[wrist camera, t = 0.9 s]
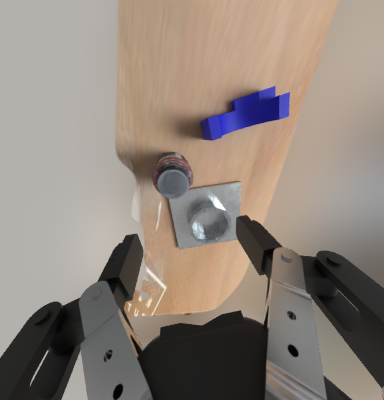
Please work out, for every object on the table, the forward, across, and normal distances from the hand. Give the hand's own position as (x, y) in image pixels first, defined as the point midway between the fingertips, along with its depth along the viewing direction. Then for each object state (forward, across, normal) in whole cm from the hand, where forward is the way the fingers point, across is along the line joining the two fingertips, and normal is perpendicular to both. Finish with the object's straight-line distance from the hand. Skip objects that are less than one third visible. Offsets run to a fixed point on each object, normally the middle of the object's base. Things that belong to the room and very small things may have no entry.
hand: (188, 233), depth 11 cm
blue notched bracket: (+20, -11, -9) cm, 24 cm away
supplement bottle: (+19, +1, -1) cm, 19 cm away
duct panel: (+19, -5, +12) cm, 23 cm away
